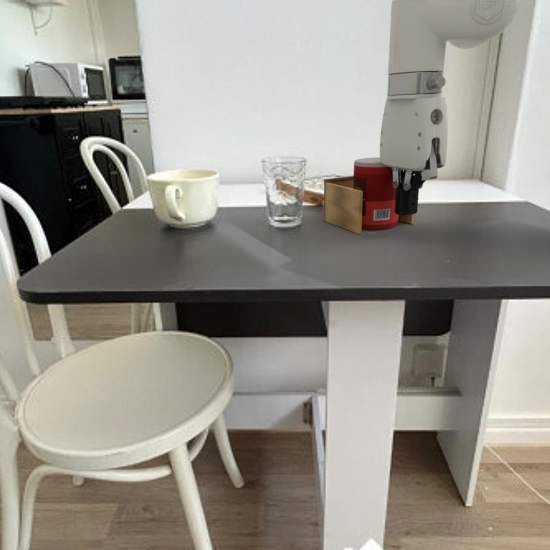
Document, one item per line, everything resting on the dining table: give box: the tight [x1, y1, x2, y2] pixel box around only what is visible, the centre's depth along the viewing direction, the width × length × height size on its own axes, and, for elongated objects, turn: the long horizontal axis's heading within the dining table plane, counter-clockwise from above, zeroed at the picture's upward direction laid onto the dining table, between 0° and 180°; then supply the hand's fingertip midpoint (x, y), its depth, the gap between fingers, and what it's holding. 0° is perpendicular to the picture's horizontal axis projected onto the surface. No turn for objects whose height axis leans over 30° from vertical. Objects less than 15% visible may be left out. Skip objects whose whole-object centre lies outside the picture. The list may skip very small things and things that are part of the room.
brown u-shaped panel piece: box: [323, 174, 416, 235], centre depth 77 cm, size 11×12×8 cm
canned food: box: [353, 156, 399, 231], centre depth 75 cm, size 8×8×11 cm
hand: (405, 213), depth 69 cm, fingers closed
